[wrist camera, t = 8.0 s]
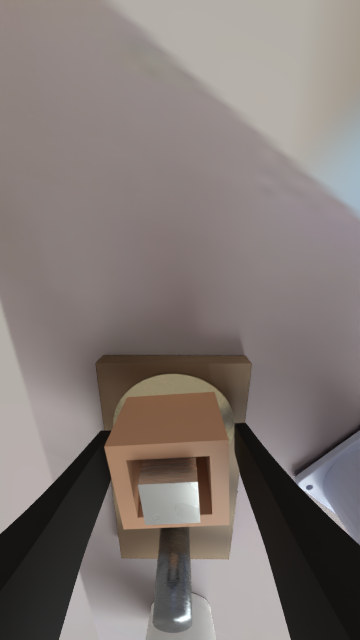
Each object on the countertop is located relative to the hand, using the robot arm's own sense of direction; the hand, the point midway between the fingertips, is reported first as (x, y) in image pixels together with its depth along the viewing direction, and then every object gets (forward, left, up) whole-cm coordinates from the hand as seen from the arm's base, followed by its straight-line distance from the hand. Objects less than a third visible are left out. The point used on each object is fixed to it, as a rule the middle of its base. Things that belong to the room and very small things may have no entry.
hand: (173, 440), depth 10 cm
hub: (0, 0, -2) cm, 2 cm away
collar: (0, 0, -1) cm, 1 cm away
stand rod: (-6, +7, -2) cm, 9 cm away
